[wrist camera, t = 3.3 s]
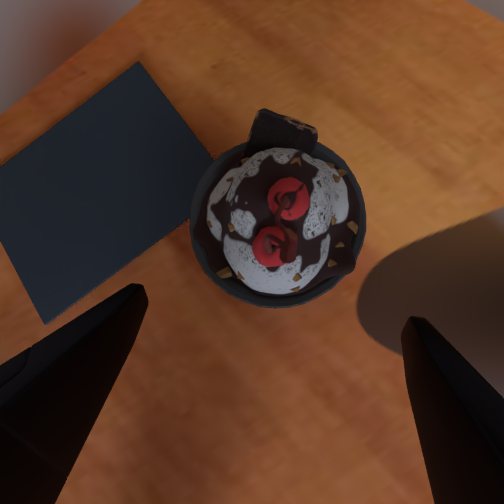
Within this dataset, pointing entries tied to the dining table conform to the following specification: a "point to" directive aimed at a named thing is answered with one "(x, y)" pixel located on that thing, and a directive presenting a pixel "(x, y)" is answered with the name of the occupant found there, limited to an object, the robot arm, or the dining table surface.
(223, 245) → the sundae
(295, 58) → the dining table surface
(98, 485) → the dining table surface
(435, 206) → the dining table surface
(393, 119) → the dining table surface
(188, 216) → the dark blue rectangular panel
